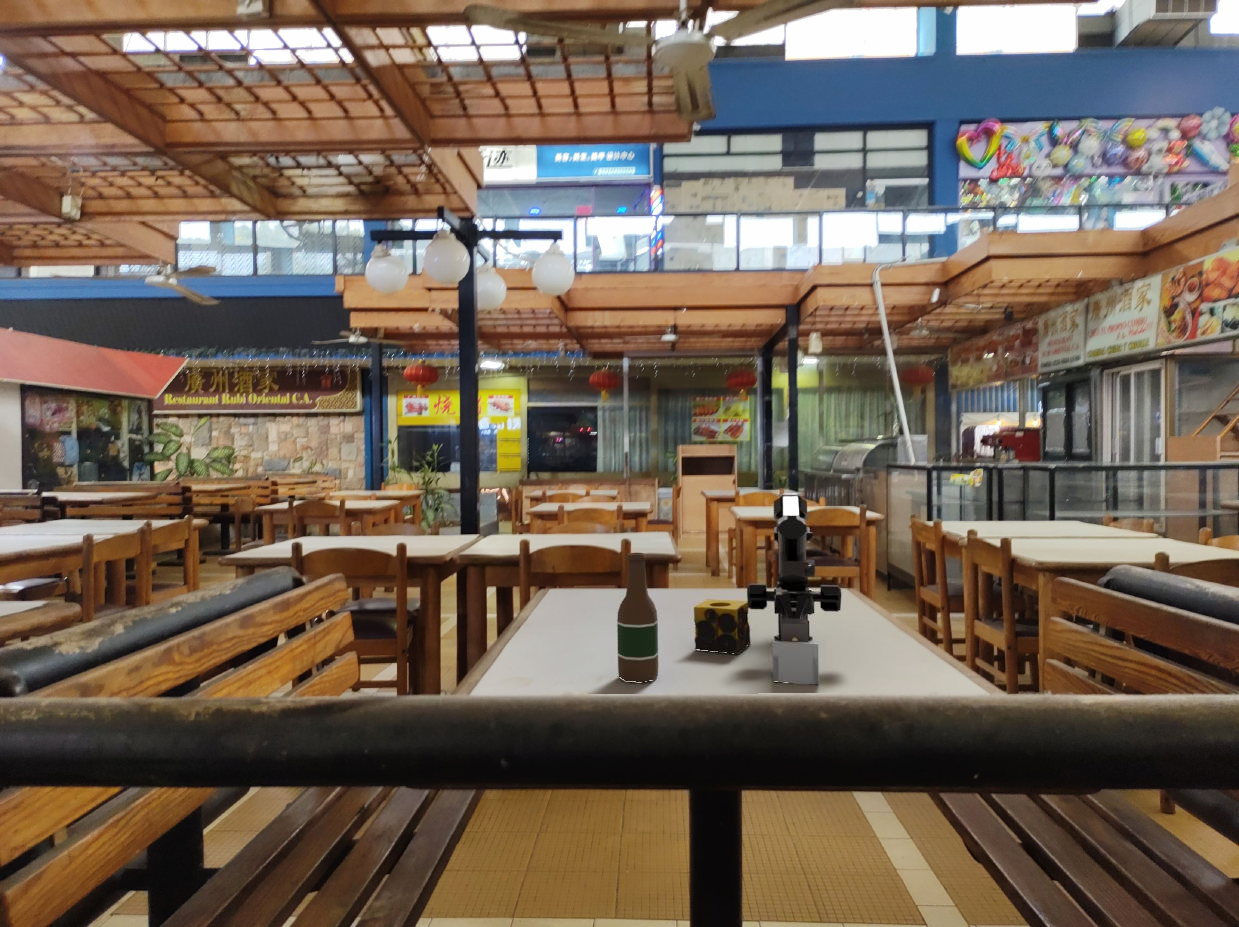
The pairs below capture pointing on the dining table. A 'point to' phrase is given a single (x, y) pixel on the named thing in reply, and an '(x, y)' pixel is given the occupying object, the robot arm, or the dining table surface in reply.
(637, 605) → the beer bottle
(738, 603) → the yellow and black cube
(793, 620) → the plug
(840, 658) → the dining table surface
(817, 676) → the socket
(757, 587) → the robot arm
